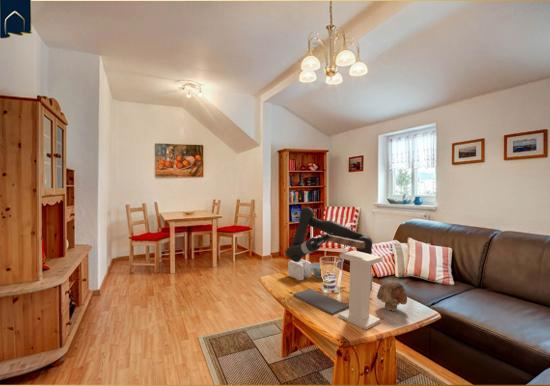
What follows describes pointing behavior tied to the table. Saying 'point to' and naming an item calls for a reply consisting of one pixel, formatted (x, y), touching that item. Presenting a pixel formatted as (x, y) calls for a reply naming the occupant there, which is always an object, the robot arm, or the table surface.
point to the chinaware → (316, 269)
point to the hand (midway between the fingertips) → (330, 235)
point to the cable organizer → (299, 269)
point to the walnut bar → (345, 241)
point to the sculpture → (392, 294)
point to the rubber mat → (321, 301)
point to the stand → (360, 289)
